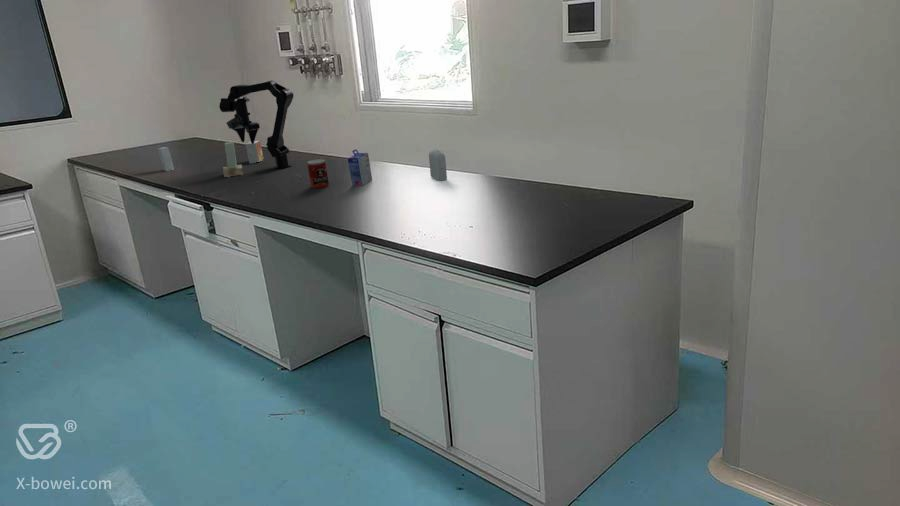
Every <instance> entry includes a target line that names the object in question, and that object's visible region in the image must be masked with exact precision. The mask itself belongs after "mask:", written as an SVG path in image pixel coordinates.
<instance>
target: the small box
mask: <svg viewBox="0 0 900 506" xmlns="http://www.w3.org/2000/svg"><path fill="white" fill-rule="evenodd" d="M261 144H262V143H261V140H255V141H254V143H251V140H250V141H248V142H247V143H245V148H246V152H247V157H248V162H249V163H248V164H257V163H256V162H260V161H261V162H262V161H264V160H263V159H264V153H263V149H262V145H261ZM261 162H260V163H261Z"/></svg>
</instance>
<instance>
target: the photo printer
mask: <svg viewBox="0 0 900 506" xmlns="http://www.w3.org/2000/svg"><path fill="white" fill-rule="evenodd" d="M428 161H429V170H430V177H431V178H433V179H434V180H437V181H440V182H445V181H446V180H447V179H448V175H447V162H446V155H445V154H444V153H443V152H442V151H441V150H440V149H431V150H430V151H429V152H428Z"/></svg>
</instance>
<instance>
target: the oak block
mask: <svg viewBox="0 0 900 506" xmlns="http://www.w3.org/2000/svg"><path fill="white" fill-rule="evenodd" d="M222 172H223V177H228V178H231V177H230V176H235V177H238V176H237V175H241V176H244V175H243V174H244V171H243V165H242V164H237V168H232V169H228V166H223V167H222Z"/></svg>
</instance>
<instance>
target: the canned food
mask: <svg viewBox="0 0 900 506" xmlns="http://www.w3.org/2000/svg"><path fill="white" fill-rule="evenodd" d="M307 171H308V176H309V181H310V187H311V188H312V187H314V188H313V189H323V188H326V186H327V187H328V186H329V176H328V169H327V163H326V159H322V158H319V159H318V158H317V159H311V160H309V161H307ZM322 187H323V188H322Z"/></svg>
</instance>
